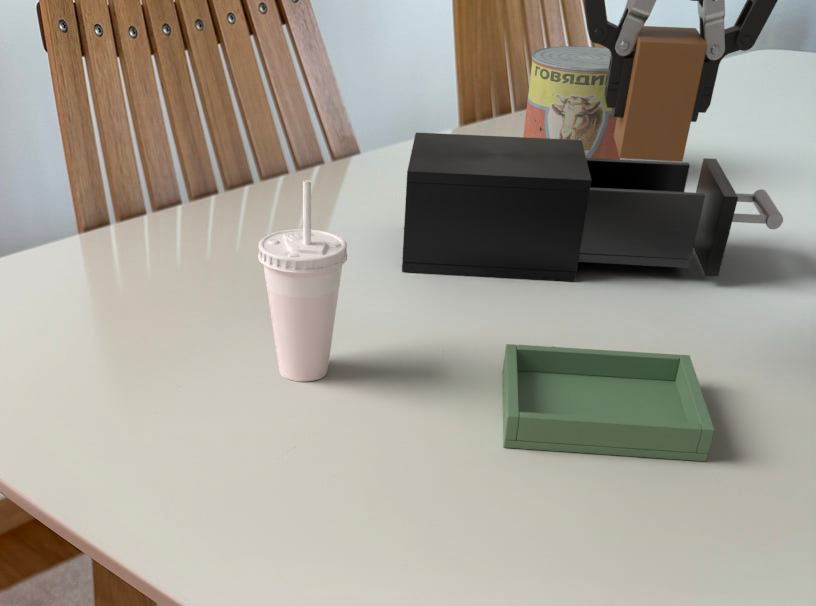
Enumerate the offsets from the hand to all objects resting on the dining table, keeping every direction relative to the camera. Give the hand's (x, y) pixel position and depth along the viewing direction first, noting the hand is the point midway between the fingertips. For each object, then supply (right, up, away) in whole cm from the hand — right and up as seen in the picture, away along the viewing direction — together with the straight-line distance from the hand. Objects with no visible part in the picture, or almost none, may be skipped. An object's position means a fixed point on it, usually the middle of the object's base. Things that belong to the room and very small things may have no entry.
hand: (653, 115), depth 71 cm
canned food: (+5, +18, +49) cm, 52 cm away
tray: (-3, -20, +4) cm, 20 cm away
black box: (-7, +1, +29) cm, 30 cm away
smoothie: (-24, -15, +9) cm, 30 cm away
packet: (0, -2, +1) cm, 2 cm away
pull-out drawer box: (+8, +1, +27) cm, 29 cm away
